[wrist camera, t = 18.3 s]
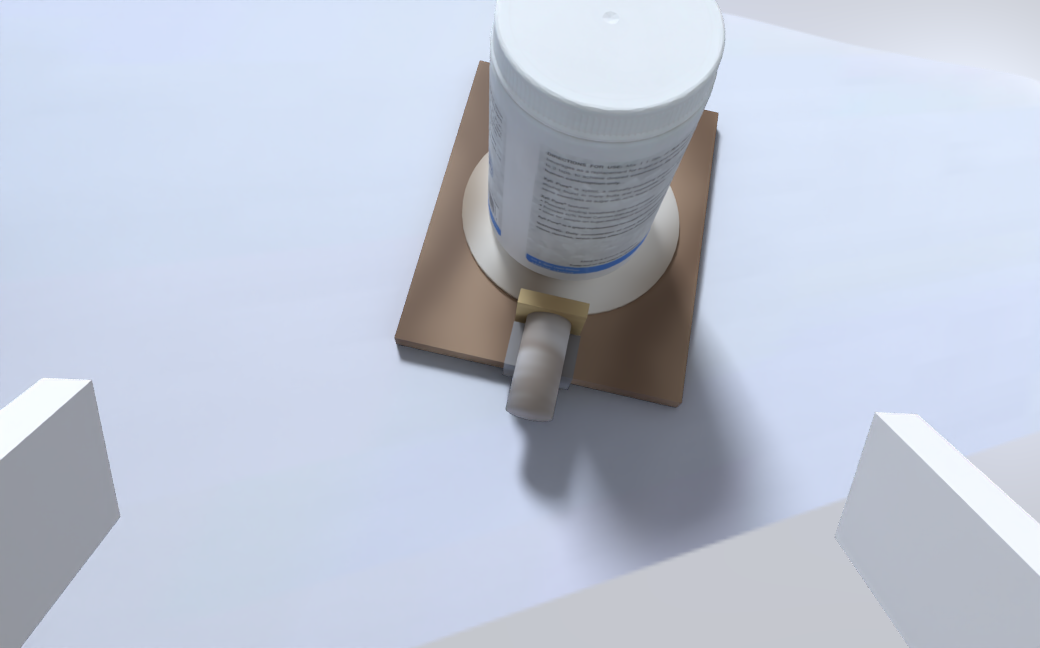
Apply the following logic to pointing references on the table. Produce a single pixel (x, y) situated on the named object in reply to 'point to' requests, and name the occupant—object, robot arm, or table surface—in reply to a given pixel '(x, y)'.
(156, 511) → the table surface
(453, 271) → the shaft board
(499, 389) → the table surface
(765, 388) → the table surface
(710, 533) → the table surface
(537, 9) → the supplement tub
